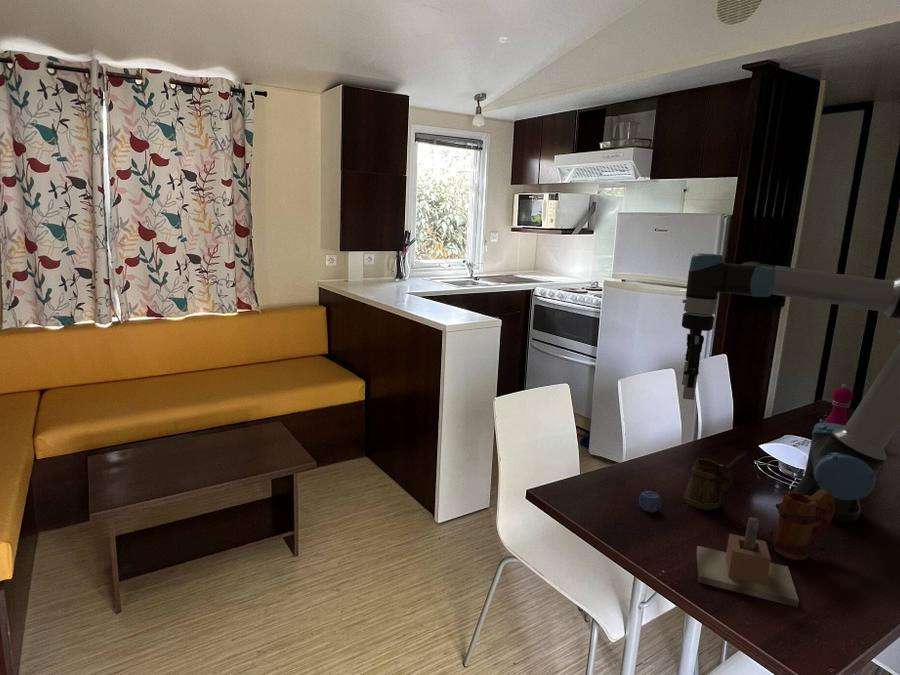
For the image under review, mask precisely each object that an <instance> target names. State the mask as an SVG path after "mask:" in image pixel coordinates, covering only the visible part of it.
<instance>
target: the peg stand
mask: <svg viewBox="0 0 900 675" xmlns="http://www.w3.org/2000/svg"><path fill="white" fill-rule="evenodd" d="M759 524H760V519H758V518H756V517H752V516H749V517H748V518H747V524H746V530H745V535H744V537H745V540H744V546H743V549H744V550H749V551H753V552H754V548H755V542H756V540H757V536H758V530H759ZM725 557H726V551H722V550H716V549H713V548H709V547H704V546H699V545H697V546H696V563H697V577H698V578H697V579H698V580H697V581H698V583H700V584H703V585H706V586H707V585H708V586H712V587H715V588H719V589H724V590H728V591H731V592H735V593H740V594H743V595H746V596H751V597H755V598H758V599H763V600H767V601H771V602H776V603H780V604H782V605H787V606H791V607H795V608H798V607H799V602H800V600H799V596H798V594H797V593H798V592H797V590H796V587H795V584H794V581H793V579H792V578H793V577H792V575H791V572H790V568H789V566H787V565H782V564H778V563H774V562H770V567H769V573H768V578H767V583H766V586H765V585H761V584H757V583H753V582H749V581H744V580H740V579H736V578H732V577H728V573H727V566H726V559H725Z"/></svg>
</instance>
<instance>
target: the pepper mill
mask: <svg viewBox="0 0 900 675" xmlns="http://www.w3.org/2000/svg"><path fill="white" fill-rule="evenodd" d="M831 395H832V398H833V399H832V410H831V412H830V414H829V415H828V416H827V417H826V419H825V421H824V423H834V424H840V425H846V424H847V422H848V421H849V420H848V418H847V409H848V408H849V407H850V402H851V401H852V400H853V397H854V394H853V392H852V391H851V390H850V389H848V385H847V384H846V383H842V384H841V387H837V388H835V389H834V390H833V391H832V394H831Z"/></svg>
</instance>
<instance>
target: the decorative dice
mask: <svg viewBox="0 0 900 675" xmlns="http://www.w3.org/2000/svg"><path fill="white" fill-rule="evenodd" d="M638 505H639V506H640V508H641V510H643V511H645V512H647V513H655V512H657V511H659V510H660V508H661V506H662V499H661V497H660V495H659V494H658V493H656V492H655V491H652V490H651V491H650V490H645V491H643V492H642V493H641V494H640V495H639V497H638Z"/></svg>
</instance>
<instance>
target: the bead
mask: <svg viewBox="0 0 900 675" xmlns="http://www.w3.org/2000/svg"><path fill="white" fill-rule="evenodd" d="M728 534H729V535H728V540H727V547H726V551H725V552H726V557H725V559H726V566H727V573H728V577H732V578H736V579H740V580H744V581H749V582H753V583H757V584H761V585H765V586H766V583H767V578H768V573H769V567H770V563H772V562H771V561H772V559H771V555H770V552H769V547H768V543H767V542H766V541H765V540H761V539H756V542H755V548H754V552H753V551H749V550H744V549H743V546H744V540H745V536H742V535H738V534H734V533H728Z"/></svg>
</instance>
